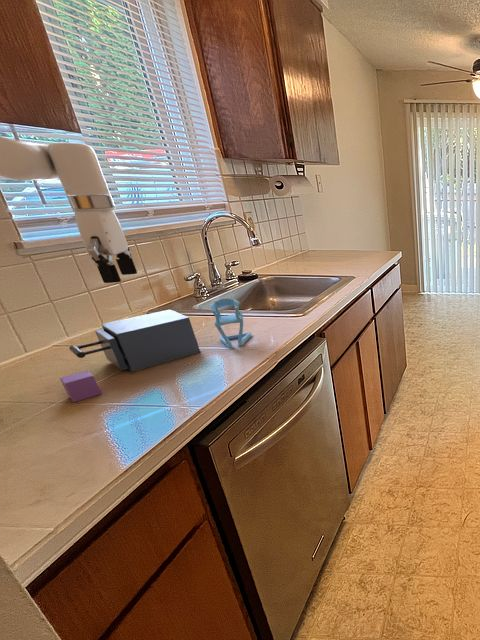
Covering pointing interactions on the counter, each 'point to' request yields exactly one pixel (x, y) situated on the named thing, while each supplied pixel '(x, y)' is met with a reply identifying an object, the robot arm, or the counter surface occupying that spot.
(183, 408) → the counter surface
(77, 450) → the counter surface
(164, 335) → the grey drawer box
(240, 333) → the chair
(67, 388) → the purple cube
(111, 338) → the teal drawer
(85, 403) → the counter surface
